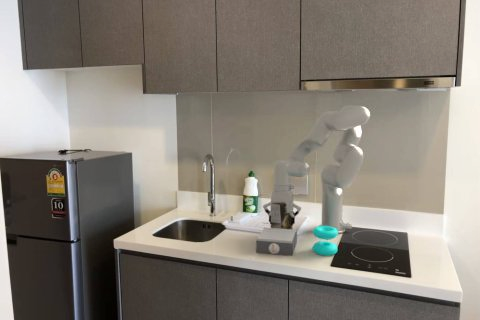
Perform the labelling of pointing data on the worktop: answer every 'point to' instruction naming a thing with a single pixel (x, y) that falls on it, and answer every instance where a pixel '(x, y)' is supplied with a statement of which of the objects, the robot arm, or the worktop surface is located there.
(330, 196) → the robot arm
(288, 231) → the scale
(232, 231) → the worktop surface
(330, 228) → the donuts
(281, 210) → the coffee box
